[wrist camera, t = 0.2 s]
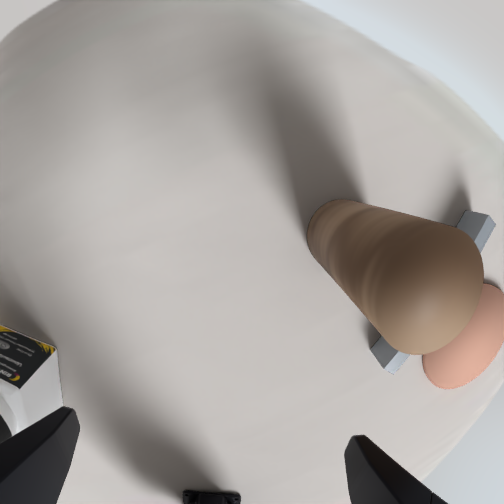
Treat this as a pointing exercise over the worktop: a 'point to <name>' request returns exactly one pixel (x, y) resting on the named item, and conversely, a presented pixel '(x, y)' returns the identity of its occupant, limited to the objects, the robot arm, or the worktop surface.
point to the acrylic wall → (479, 231)
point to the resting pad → (470, 344)
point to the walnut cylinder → (400, 271)
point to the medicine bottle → (26, 381)
